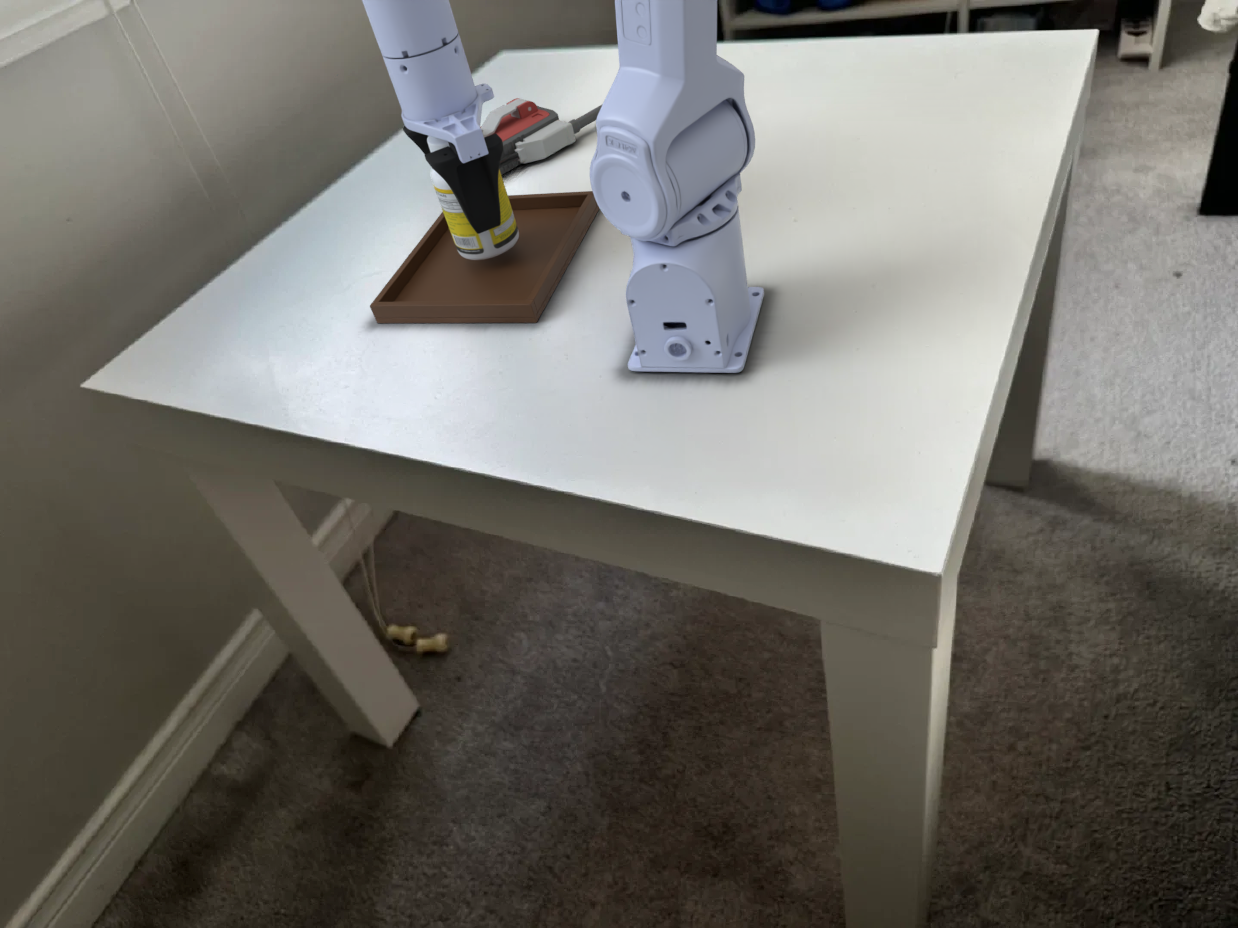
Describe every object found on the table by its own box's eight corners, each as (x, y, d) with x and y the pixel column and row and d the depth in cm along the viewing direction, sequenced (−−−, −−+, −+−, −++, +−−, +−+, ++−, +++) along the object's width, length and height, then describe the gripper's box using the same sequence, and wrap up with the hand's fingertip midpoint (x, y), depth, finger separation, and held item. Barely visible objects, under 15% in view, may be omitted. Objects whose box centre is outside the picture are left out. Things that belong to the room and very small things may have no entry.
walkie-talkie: (484, 199, 86) (633, 112, 94) (470, 155, 83) (624, 69, 91) (434, 180, 91) (578, 99, 99) (419, 138, 88) (569, 58, 96)
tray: (536, 322, 69) (530, 304, 68) (377, 323, 73) (369, 305, 72) (599, 207, 80) (595, 190, 79) (458, 214, 85) (452, 197, 84)
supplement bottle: (517, 221, 78) (484, 110, 71) (523, 251, 74) (488, 136, 67) (456, 237, 78) (417, 128, 71) (459, 268, 74) (417, 155, 67)
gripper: (503, 48, 60) (552, 230, 69) (445, 4, 70) (495, 167, 80) (403, 84, 59) (467, 264, 68) (359, 34, 69) (420, 196, 78)
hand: (477, 214), depth 74 cm, fingers closed on supplement bottle, 5 cm apart
